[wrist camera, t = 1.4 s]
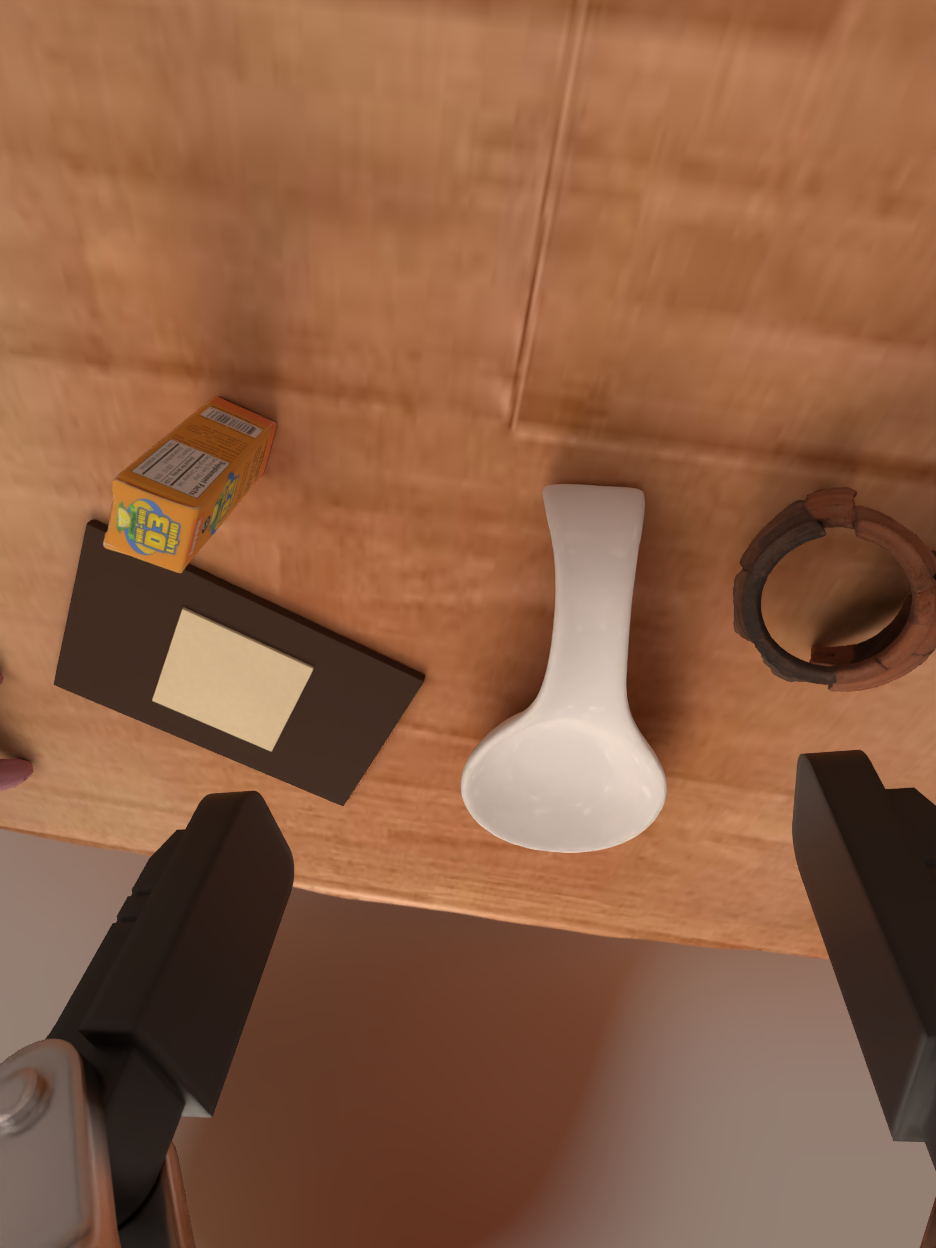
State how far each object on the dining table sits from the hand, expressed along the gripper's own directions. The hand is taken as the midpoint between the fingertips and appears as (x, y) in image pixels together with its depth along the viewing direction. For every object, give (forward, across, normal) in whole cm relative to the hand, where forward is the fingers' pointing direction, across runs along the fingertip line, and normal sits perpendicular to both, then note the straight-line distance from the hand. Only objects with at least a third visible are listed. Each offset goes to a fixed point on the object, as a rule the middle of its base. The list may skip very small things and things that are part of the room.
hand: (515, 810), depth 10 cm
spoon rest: (+24, +1, +17) cm, 30 cm away
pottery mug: (+24, -14, +12) cm, 30 cm away
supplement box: (+25, +14, 0) cm, 29 cm away
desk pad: (+24, +21, +14) cm, 35 cm away
